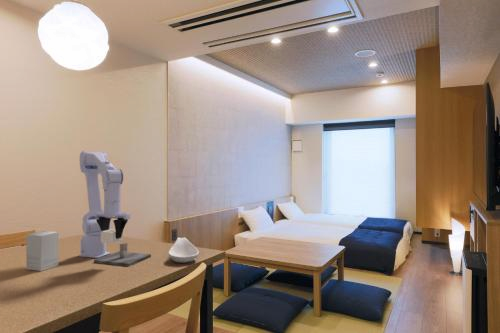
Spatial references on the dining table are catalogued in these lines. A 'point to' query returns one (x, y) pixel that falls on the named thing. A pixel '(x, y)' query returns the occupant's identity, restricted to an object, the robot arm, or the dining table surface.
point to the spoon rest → (183, 251)
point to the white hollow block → (110, 236)
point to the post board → (122, 257)
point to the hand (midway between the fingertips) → (112, 237)
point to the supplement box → (41, 250)
